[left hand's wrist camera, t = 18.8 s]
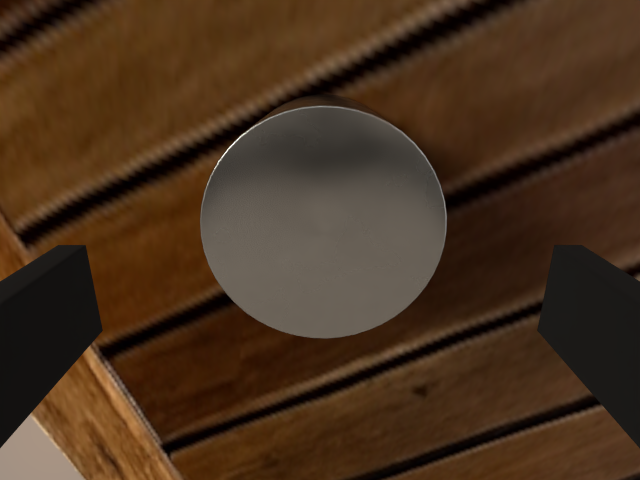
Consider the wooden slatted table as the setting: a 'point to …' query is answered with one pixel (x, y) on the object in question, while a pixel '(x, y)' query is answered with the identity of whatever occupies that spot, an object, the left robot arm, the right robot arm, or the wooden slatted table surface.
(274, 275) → the tin
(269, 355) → the wooden slatted table surface
